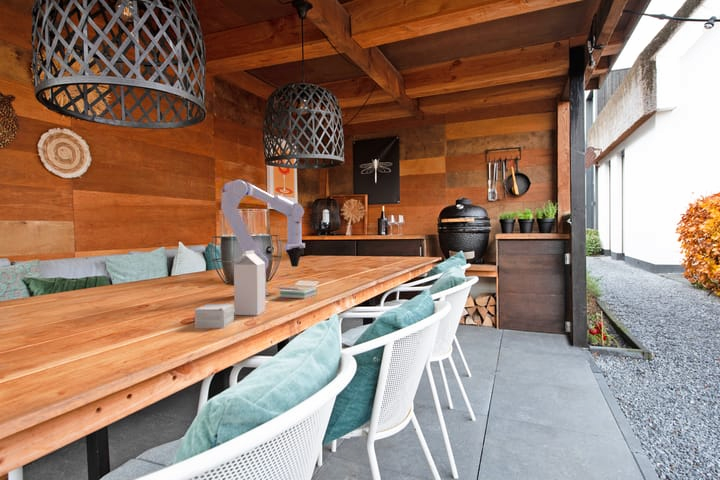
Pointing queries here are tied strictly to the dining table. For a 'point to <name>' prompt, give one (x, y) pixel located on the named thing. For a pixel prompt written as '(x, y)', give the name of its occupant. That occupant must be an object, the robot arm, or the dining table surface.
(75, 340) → the dining table surface
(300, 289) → the flap near
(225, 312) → the small box
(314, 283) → the flap far
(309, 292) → the carton
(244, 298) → the milk carton
